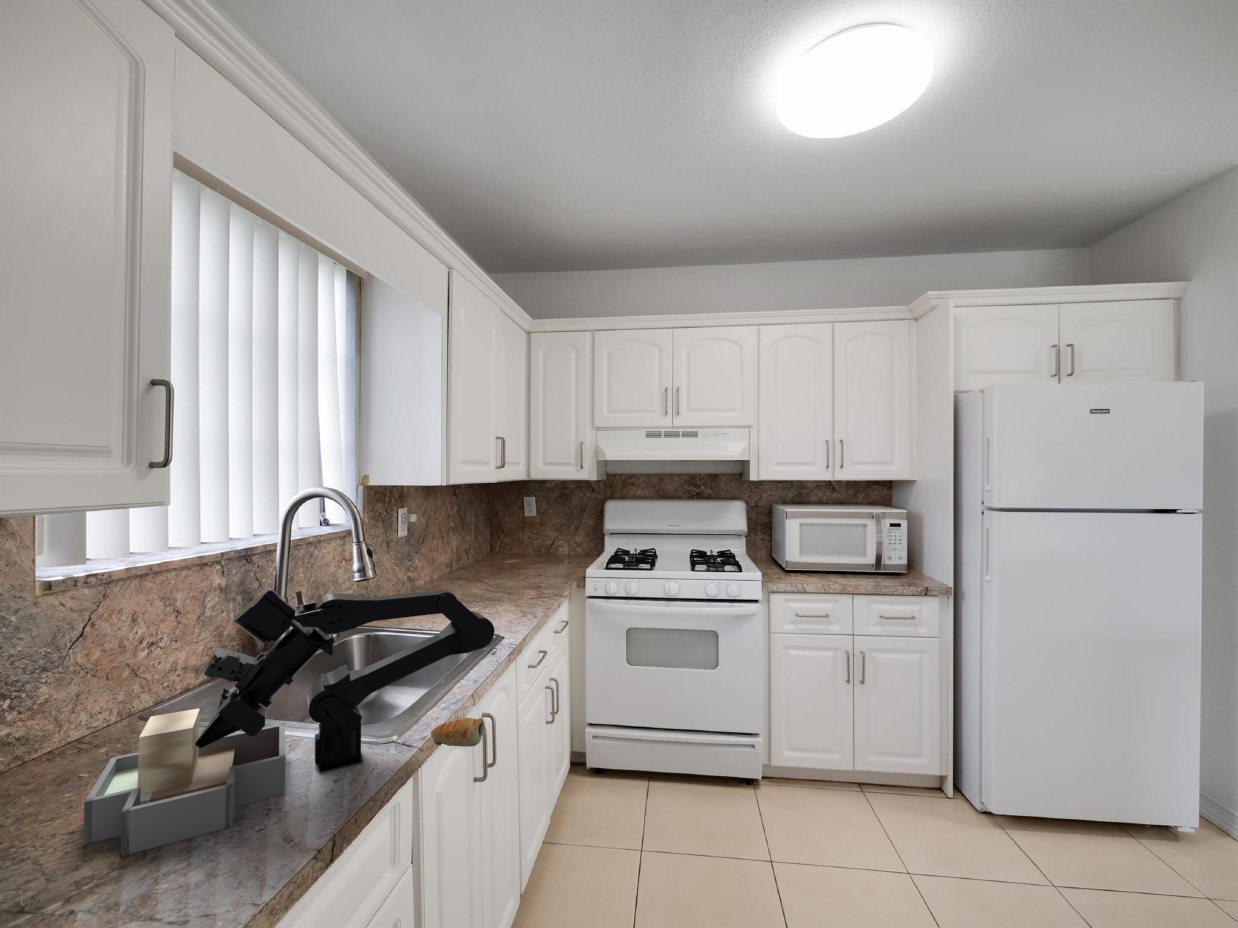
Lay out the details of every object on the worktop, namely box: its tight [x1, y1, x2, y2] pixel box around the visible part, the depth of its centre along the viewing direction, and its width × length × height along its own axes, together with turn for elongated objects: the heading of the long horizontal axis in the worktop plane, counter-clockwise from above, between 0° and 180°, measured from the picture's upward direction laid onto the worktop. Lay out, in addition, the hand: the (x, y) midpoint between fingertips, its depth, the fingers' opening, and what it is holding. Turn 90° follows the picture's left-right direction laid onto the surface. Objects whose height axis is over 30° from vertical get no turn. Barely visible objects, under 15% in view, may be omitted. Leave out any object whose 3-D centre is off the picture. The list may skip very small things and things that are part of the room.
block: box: [137, 708, 201, 795], centre depth 82 cm, size 6×8×8 cm
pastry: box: [430, 716, 486, 748], centre depth 102 cm, size 9×7×4 cm
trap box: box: [83, 722, 286, 857], centre depth 82 cm, size 22×19×6 cm
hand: (197, 745), depth 84 cm, fingers closed
